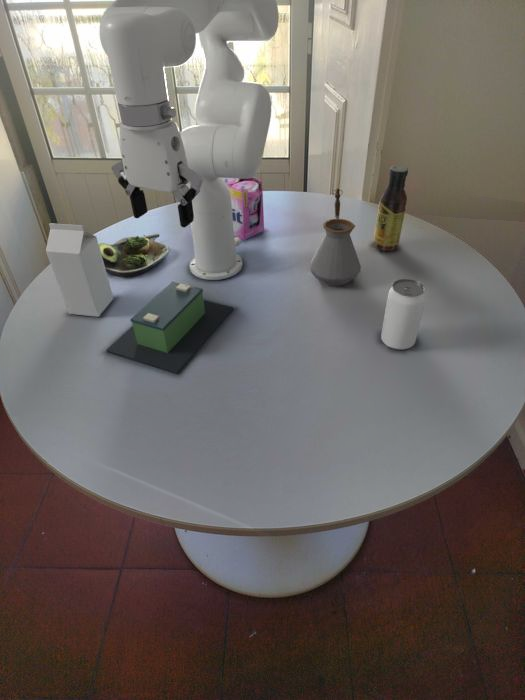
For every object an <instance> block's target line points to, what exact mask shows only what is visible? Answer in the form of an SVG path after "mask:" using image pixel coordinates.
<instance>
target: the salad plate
mask: <svg viewBox="0 0 525 700" xmlns="http://www.w3.org/2000/svg"><path fill="white" fill-rule="evenodd" d="M159 237H160V233H153V234H149V235H146V234H143V236H139V235H136V236H127V237H122V238H120V239H119V240H117V241H115V242H112V243H110V244H109V243H104V242H101V243H98V244H99V248H100V251H101V255H102V258H103V262H104V266H105V269H106V273H107V274H109V275H110V276H115V277H121V278H132V277H136V276H138V275H141V274H144V273H145V272H148V270H150V269H152V268H154V266H155V265H157V264H158V263H159V262H161V261H162V260H163V259H164V258H165V257H167V256H168V254H169V252H170V248H169V246H168V245H167V244H165V243H162V242H159V241H156V239H158V238H159Z"/></svg>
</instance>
